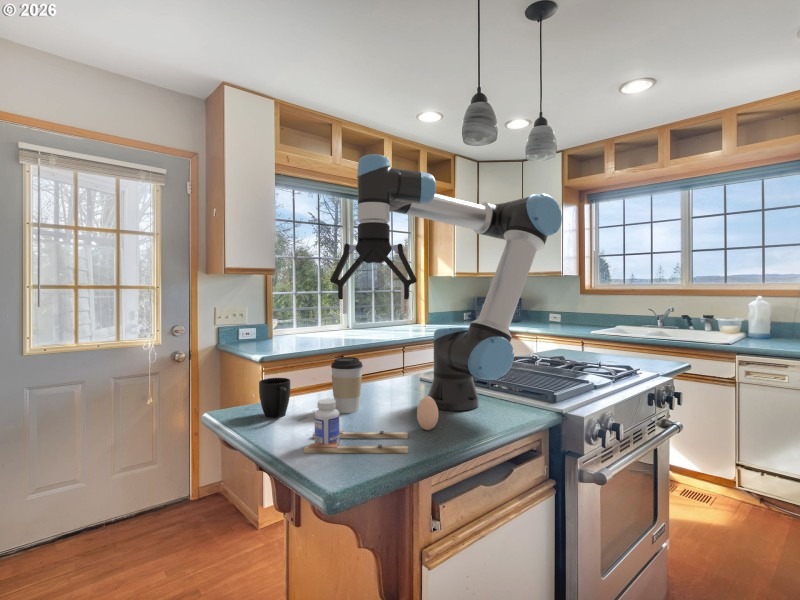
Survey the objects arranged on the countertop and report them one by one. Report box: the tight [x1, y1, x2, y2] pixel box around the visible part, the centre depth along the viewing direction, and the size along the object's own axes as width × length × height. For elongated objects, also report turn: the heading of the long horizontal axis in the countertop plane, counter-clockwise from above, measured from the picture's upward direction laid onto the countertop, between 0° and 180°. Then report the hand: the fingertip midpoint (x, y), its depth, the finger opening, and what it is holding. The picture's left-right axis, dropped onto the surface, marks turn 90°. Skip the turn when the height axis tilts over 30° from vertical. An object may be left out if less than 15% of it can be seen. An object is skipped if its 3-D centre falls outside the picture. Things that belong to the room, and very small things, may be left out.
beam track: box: [303, 430, 409, 454], centre depth 95 cm, size 22×10×1 cm, turn 90°
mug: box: [258, 377, 291, 419], centre depth 115 cm, size 8×12×10 cm
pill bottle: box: [314, 398, 340, 446], centre depth 95 cm, size 5×5×10 cm
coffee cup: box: [330, 356, 364, 414], centre depth 122 cm, size 9×9×15 cm
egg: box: [416, 395, 439, 431], centre depth 105 cm, size 5×5×8 cm
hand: (373, 313), depth 101 cm, fingers open, 13 cm apart
